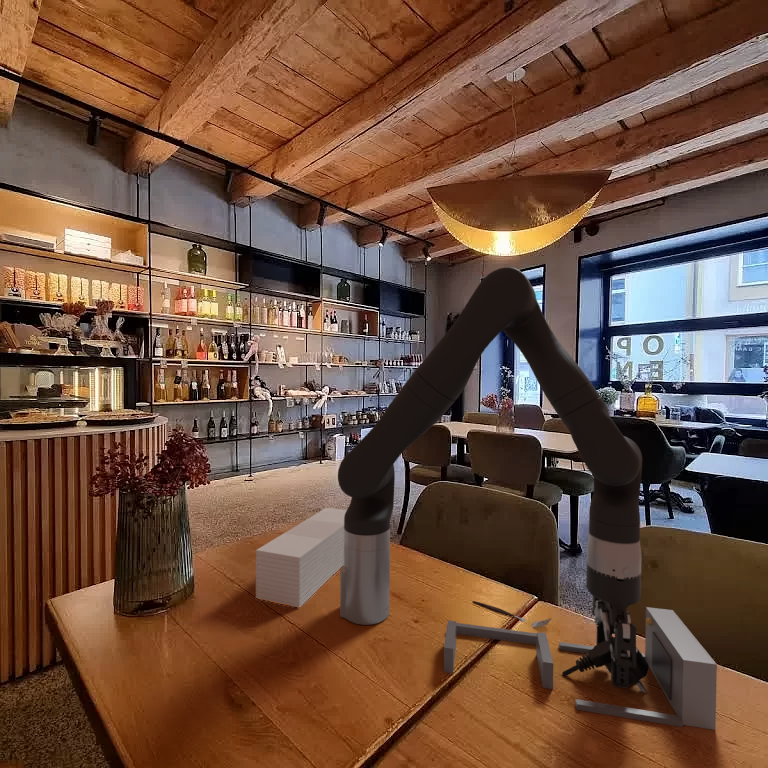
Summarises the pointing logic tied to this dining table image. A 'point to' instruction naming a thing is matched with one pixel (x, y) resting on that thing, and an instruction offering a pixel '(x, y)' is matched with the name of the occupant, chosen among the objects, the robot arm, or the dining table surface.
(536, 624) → the fork
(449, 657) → the plug holster
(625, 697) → the dining table surface
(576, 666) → the power plug
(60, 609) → the dining table surface
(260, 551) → the stack of papers
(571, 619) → the dining table surface
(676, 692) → the socket block
